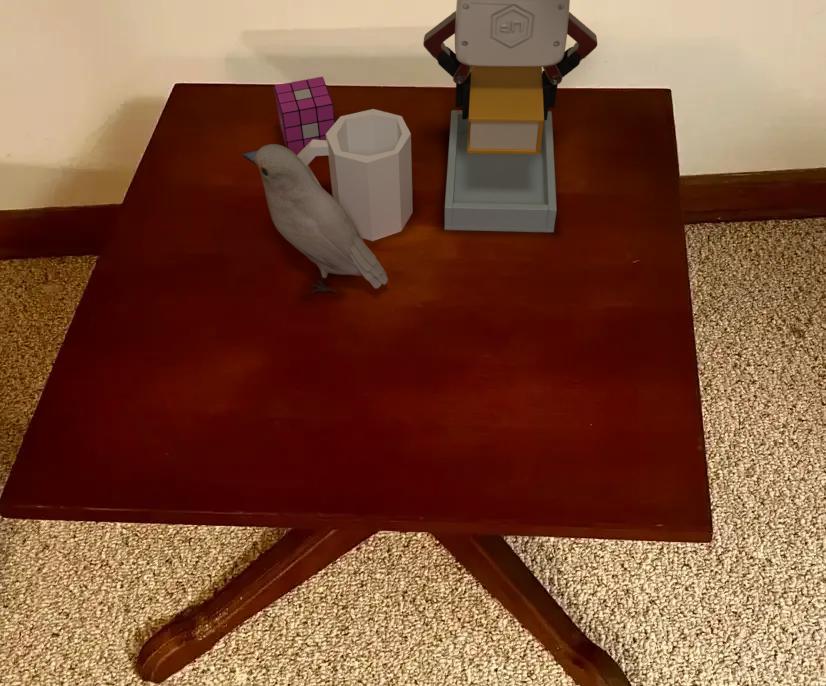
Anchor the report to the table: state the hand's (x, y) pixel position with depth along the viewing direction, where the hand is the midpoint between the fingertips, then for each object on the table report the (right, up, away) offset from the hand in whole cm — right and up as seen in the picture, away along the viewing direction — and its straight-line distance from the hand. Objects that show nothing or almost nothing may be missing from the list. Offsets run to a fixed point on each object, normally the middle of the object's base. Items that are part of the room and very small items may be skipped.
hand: (504, 110), depth 88 cm
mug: (-15, -10, +5) cm, 18 cm away
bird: (-18, -17, -1) cm, 25 cm away
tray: (0, -5, +7) cm, 9 cm away
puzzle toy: (-21, +1, +13) cm, 25 cm away
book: (0, 0, +1) cm, 1 cm away
